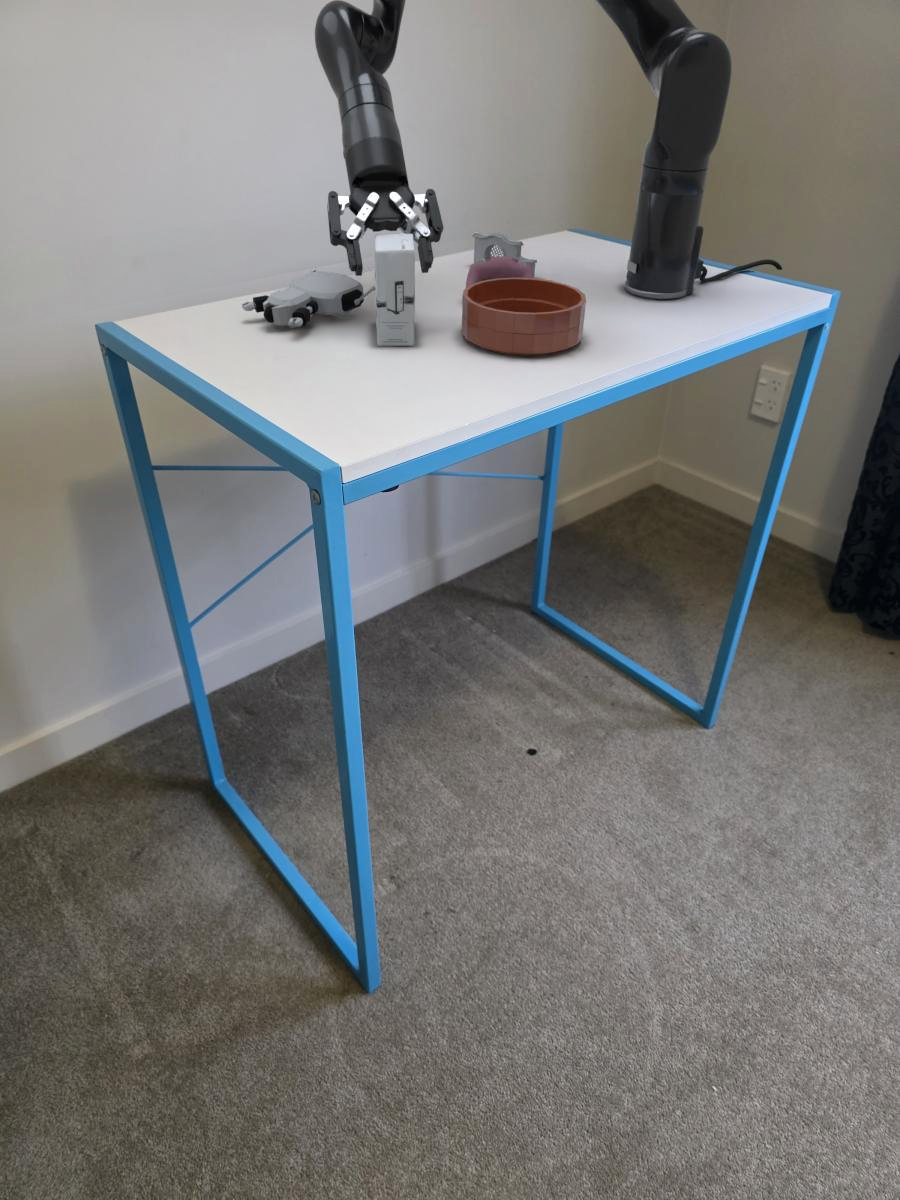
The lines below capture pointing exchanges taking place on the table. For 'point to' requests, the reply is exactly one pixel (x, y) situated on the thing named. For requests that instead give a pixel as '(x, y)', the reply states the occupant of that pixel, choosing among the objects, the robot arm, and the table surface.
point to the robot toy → (310, 299)
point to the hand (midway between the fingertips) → (393, 271)
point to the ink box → (395, 289)
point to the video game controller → (498, 269)
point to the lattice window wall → (500, 240)
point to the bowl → (523, 315)
